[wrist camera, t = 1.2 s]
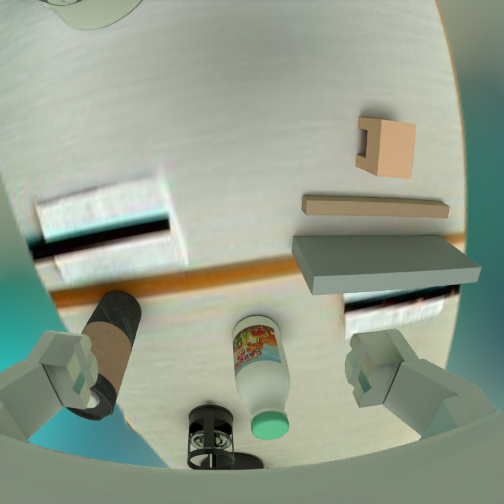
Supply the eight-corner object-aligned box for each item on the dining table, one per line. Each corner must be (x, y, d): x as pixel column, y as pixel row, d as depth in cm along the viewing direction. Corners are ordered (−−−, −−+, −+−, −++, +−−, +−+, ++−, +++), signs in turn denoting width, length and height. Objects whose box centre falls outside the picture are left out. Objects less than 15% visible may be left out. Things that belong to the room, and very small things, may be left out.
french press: (233, 430, 64) (239, 520, 43) (191, 430, 63) (188, 520, 42) (232, 399, 59) (239, 501, 38) (185, 399, 58) (178, 501, 38)
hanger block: (358, 117, 40) (381, 119, 33) (389, 121, 40) (415, 124, 34) (355, 166, 42) (377, 176, 36) (386, 168, 43) (410, 178, 37)
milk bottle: (287, 322, 52) (314, 419, 34) (265, 355, 55) (282, 450, 37) (244, 307, 50) (256, 407, 32) (225, 342, 53) (228, 441, 35)
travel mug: (97, 285, 47) (47, 373, 29) (143, 292, 48) (109, 388, 30) (101, 324, 50) (62, 413, 32) (143, 331, 51) (117, 426, 33)
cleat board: (295, 195, 44) (319, 224, 33) (445, 202, 46) (491, 227, 35) (292, 251, 47) (312, 295, 36) (436, 248, 49) (476, 281, 38)
